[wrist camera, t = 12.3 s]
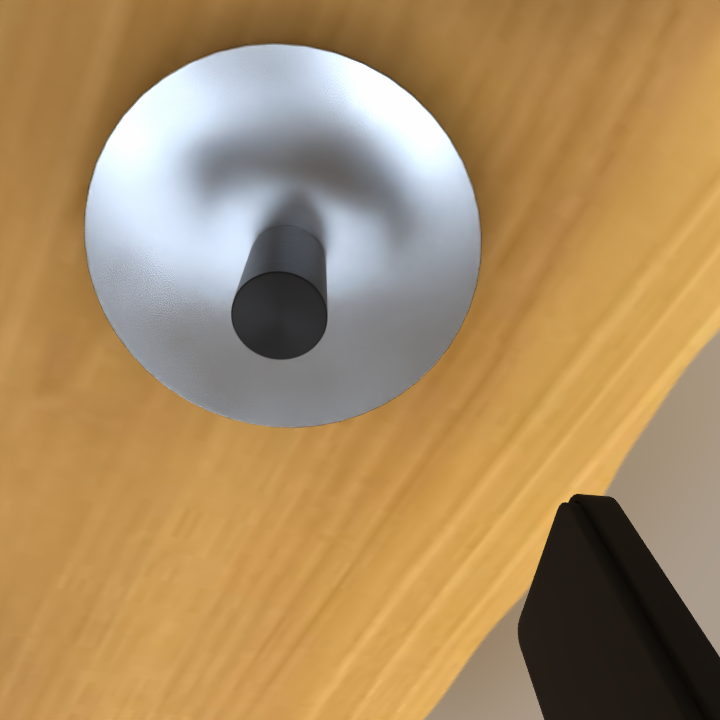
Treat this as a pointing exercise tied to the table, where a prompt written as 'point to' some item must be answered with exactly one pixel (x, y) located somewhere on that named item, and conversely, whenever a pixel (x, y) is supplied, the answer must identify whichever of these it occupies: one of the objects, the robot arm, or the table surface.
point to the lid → (282, 235)
